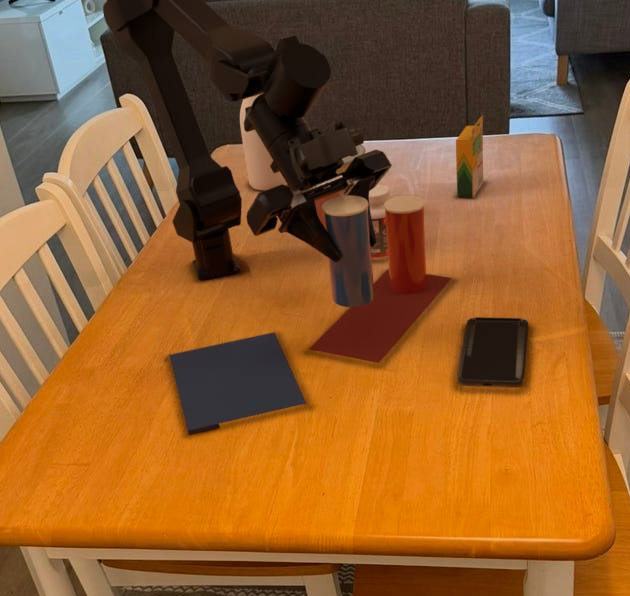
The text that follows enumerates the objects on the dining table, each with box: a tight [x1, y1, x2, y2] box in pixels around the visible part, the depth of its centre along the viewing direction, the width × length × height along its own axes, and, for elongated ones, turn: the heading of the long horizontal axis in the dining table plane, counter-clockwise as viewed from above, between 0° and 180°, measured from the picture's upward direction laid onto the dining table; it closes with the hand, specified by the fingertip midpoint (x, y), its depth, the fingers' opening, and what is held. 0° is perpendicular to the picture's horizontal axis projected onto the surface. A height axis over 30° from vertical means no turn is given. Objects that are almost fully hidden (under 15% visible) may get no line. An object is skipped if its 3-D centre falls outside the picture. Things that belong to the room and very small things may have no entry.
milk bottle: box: [239, 93, 288, 191], centre depth 155 cm, size 8×8×20 cm
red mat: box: [308, 268, 452, 364], centre depth 119 cm, size 24×10×1 cm, turn 154°
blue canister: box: [322, 195, 374, 308], centre depth 106 cm, size 5×5×12 cm
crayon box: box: [455, 114, 484, 199], centre depth 148 cm, size 7×3×12 cm, turn 160°
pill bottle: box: [369, 183, 391, 260], centre depth 132 cm, size 6×6×10 cm
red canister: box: [384, 195, 427, 294], centre depth 121 cm, size 5×5×12 cm
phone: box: [456, 316, 529, 388], centre depth 109 cm, size 8×1×15 cm
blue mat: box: [168, 332, 307, 435], centre depth 109 cm, size 18×14×1 cm
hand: (356, 252), depth 105 cm, fingers closed on blue canister, 5 cm apart
